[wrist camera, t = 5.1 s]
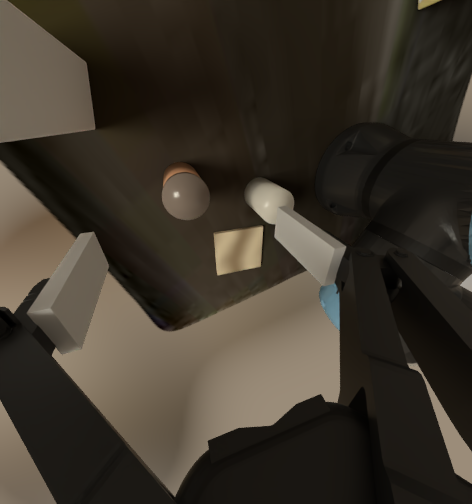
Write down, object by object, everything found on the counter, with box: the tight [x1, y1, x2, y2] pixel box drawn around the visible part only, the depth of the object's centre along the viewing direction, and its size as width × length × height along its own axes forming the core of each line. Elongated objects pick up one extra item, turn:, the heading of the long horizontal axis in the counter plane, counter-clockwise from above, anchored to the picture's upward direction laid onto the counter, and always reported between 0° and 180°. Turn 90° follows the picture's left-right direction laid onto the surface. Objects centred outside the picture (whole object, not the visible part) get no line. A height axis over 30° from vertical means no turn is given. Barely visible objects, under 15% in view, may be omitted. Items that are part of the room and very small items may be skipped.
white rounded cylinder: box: [244, 177, 294, 224], centre depth 31 cm, size 5×5×7 cm
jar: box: [162, 162, 210, 220], centre depth 26 cm, size 5×5×8 cm
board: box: [214, 225, 263, 275], centre depth 38 cm, size 9×9×1 cm
